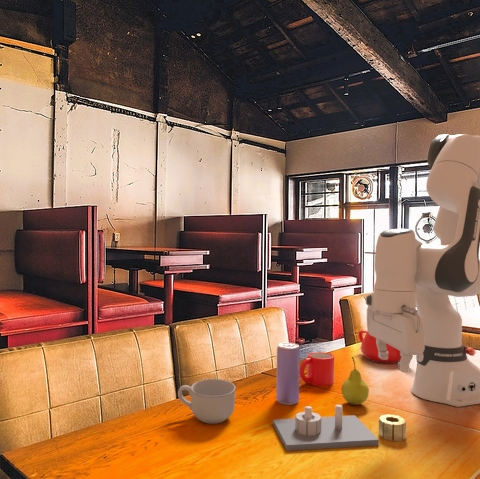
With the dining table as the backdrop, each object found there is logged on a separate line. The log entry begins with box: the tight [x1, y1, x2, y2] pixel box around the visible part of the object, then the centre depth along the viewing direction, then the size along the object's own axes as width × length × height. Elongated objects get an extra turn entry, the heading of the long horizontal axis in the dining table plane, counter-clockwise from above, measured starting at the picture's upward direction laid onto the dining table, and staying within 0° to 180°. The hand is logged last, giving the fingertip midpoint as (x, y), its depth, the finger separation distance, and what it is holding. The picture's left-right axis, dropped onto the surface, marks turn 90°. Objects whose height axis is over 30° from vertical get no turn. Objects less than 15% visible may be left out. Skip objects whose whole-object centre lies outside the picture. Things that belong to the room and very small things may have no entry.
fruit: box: [340, 356, 369, 406], centre depth 123 cm, size 7×7×12 cm
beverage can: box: [275, 342, 301, 406], centre depth 125 cm, size 6×6×15 cm
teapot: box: [357, 329, 401, 364], centre depth 166 cm, size 25×16×12 cm, turn 32°
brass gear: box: [378, 414, 407, 442], centre depth 105 cm, size 5×5×4 cm
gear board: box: [272, 404, 380, 452], centre depth 105 cm, size 20×13×6 cm, turn 98°
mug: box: [299, 351, 335, 387], centre depth 141 cm, size 8×12×8 cm, turn 125°
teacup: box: [177, 378, 237, 425], centre depth 114 cm, size 14×11×8 cm
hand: (392, 364), depth 104 cm, fingers open, 8 cm apart
